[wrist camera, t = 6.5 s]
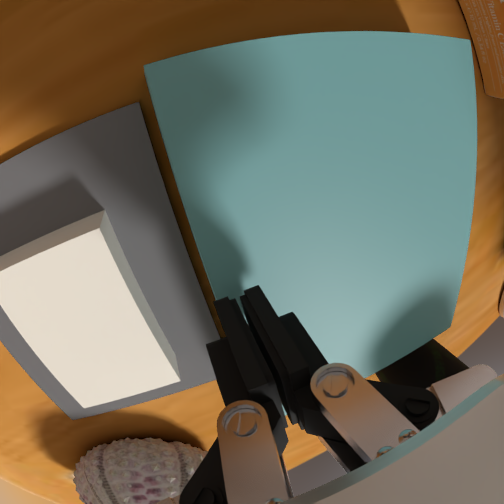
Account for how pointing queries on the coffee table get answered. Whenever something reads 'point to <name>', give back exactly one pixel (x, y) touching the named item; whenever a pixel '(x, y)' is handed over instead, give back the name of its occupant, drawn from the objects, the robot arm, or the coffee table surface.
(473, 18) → the small box
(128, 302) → the off-white foam block
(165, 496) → the sea urchin shell
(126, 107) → the mat
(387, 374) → the cup
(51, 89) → the coffee table surface
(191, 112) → the plate
